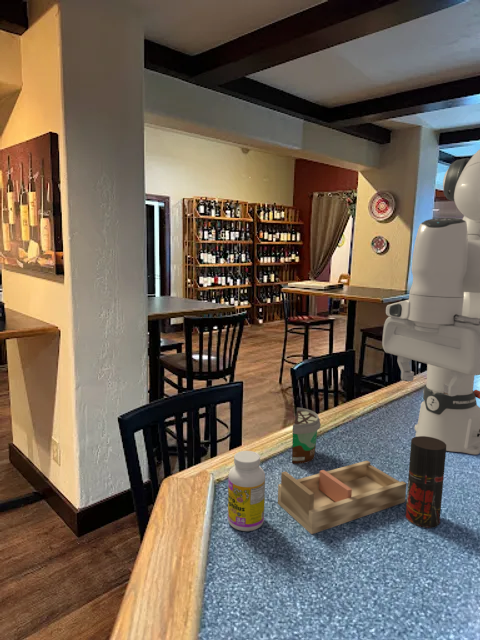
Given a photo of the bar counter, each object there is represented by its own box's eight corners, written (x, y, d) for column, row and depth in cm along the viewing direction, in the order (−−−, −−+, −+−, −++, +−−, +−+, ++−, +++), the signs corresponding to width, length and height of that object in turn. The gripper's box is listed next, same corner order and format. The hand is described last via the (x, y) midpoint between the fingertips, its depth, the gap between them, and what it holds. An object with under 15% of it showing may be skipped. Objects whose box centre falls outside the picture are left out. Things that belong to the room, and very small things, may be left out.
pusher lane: (366, 477, 101) (367, 447, 100) (405, 501, 92) (407, 469, 90) (277, 503, 90) (278, 470, 89) (311, 534, 81) (313, 497, 80)
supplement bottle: (220, 519, 85) (221, 453, 83) (249, 507, 89) (250, 445, 87) (242, 537, 80) (243, 468, 78) (271, 524, 84) (273, 458, 81)
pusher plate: (322, 488, 94) (323, 469, 93) (350, 508, 86) (351, 489, 86) (318, 489, 93) (319, 470, 93) (346, 510, 86) (347, 490, 85)
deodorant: (400, 510, 89) (405, 436, 86) (429, 509, 89) (436, 435, 87) (414, 528, 83) (420, 450, 80) (445, 527, 83) (453, 449, 81)
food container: (318, 469, 105) (320, 427, 103) (291, 466, 106) (292, 425, 104) (320, 446, 117) (321, 408, 115) (295, 444, 118) (297, 406, 116)
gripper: (502, 319, 73) (492, 402, 75) (403, 304, 91) (397, 372, 93) (476, 320, 70) (467, 407, 72) (379, 305, 88) (374, 375, 90)
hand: (427, 387), depth 83 cm, fingers open, 8 cm apart
